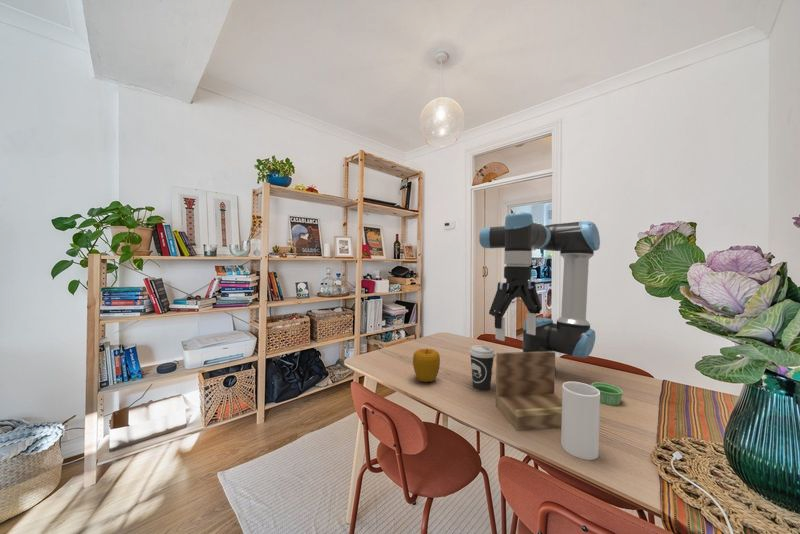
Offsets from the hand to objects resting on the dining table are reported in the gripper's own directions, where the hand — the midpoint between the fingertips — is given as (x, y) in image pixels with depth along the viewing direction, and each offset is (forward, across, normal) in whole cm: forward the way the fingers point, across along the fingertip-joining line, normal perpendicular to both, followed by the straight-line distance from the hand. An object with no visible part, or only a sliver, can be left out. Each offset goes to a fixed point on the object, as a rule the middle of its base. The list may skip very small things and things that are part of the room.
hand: (516, 336), depth 85 cm
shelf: (+26, -9, 0) cm, 28 cm away
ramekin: (+26, -41, +6) cm, 49 cm away
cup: (+26, -5, +16) cm, 31 cm away
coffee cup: (+26, -9, -22) cm, 36 cm away
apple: (+26, +6, -37) cm, 46 cm away
